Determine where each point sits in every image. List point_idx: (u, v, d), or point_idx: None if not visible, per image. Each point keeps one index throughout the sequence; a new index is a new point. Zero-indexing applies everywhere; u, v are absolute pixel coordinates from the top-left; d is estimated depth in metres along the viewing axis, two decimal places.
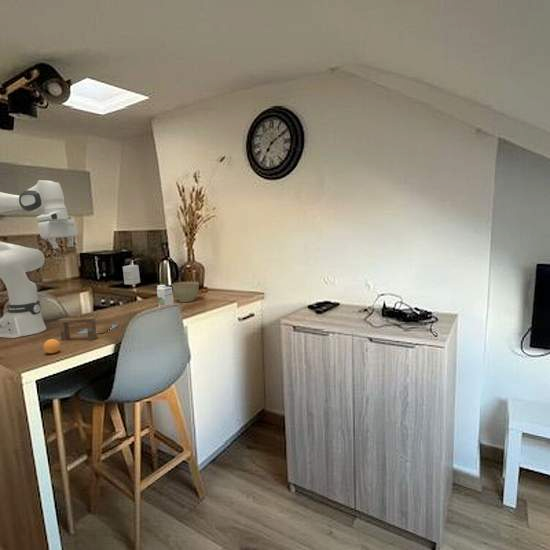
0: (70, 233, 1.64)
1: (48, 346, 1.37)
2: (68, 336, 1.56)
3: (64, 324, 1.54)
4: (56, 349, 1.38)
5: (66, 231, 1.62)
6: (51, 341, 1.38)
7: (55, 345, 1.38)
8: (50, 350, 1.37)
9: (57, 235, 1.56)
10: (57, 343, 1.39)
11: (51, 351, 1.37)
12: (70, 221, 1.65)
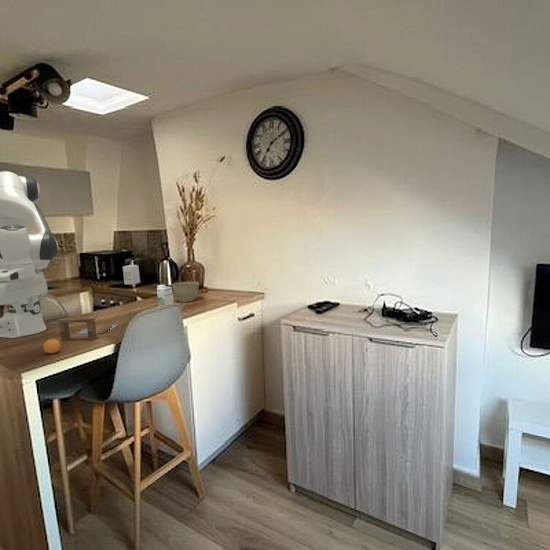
0: (35, 293, 1.29)
1: (48, 346, 1.37)
2: (68, 336, 1.56)
3: (64, 324, 1.54)
4: (56, 349, 1.38)
5: (30, 291, 1.27)
6: (51, 341, 1.38)
7: (55, 345, 1.38)
8: (50, 350, 1.37)
9: (17, 298, 1.22)
10: (57, 343, 1.39)
11: (51, 351, 1.37)
12: (38, 276, 1.31)
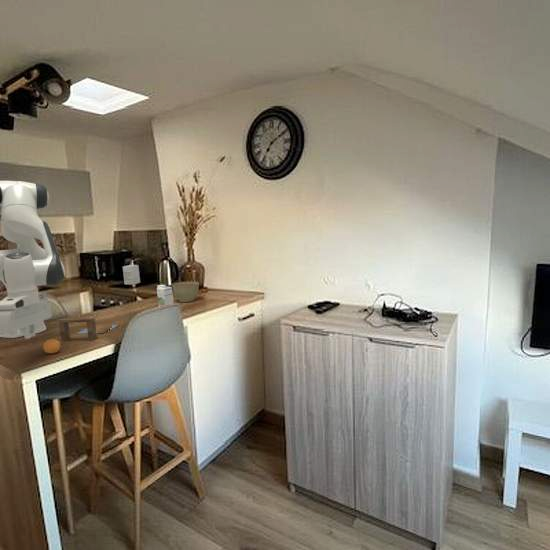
0: (40, 318, 1.31)
1: (48, 346, 1.37)
2: (68, 336, 1.56)
3: (64, 324, 1.54)
4: (56, 349, 1.38)
5: (35, 317, 1.29)
6: (51, 341, 1.38)
7: (55, 345, 1.38)
8: (50, 350, 1.37)
9: (23, 325, 1.23)
10: (57, 343, 1.39)
11: (51, 351, 1.37)
12: (42, 302, 1.32)
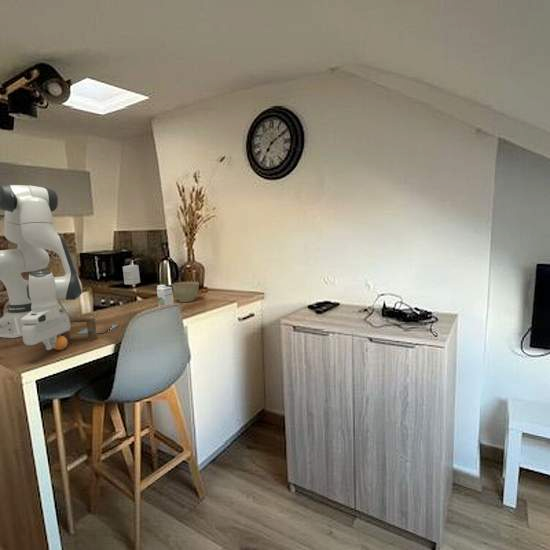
0: (60, 331, 1.42)
1: (58, 338, 1.41)
2: (68, 336, 1.56)
3: None
4: (63, 344, 1.42)
5: (55, 330, 1.39)
6: (63, 336, 1.43)
7: (65, 340, 1.43)
8: (58, 341, 1.41)
9: (44, 338, 1.34)
10: (66, 340, 1.43)
11: (58, 343, 1.40)
12: (62, 315, 1.43)
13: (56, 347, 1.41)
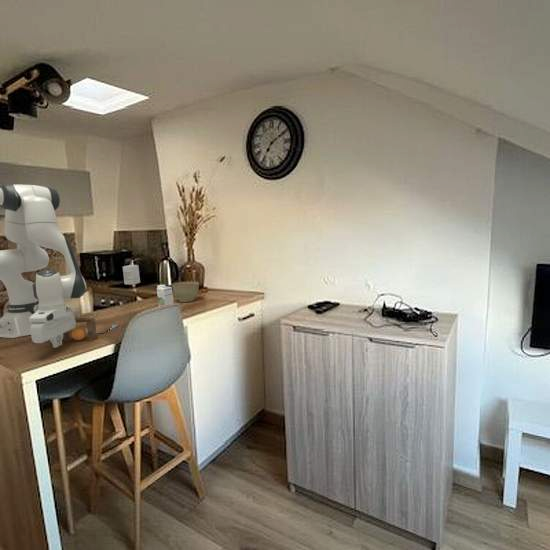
0: (66, 329, 1.45)
1: (80, 339, 1.54)
2: (68, 336, 1.56)
3: None
4: None
5: (62, 328, 1.43)
6: (78, 337, 1.52)
7: (83, 336, 1.53)
8: (83, 338, 1.55)
9: (52, 336, 1.37)
10: (82, 333, 1.53)
11: None
12: (68, 314, 1.46)
13: None
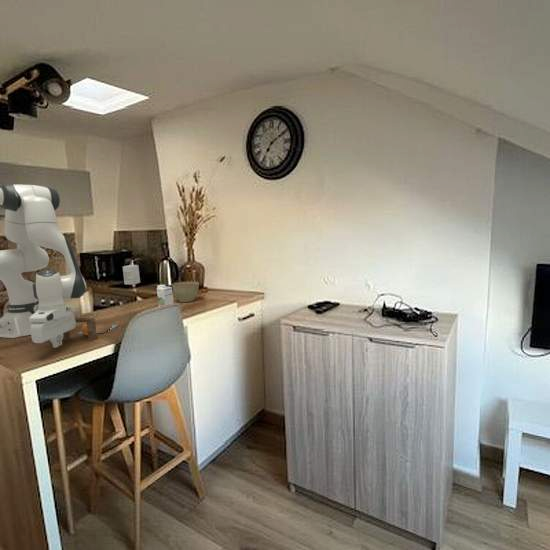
0: (66, 329, 1.45)
1: None
2: (68, 336, 1.56)
3: None
4: None
5: (62, 328, 1.43)
6: None
7: None
8: None
9: (52, 336, 1.37)
10: None
11: None
12: (68, 314, 1.46)
13: (86, 333, 1.58)
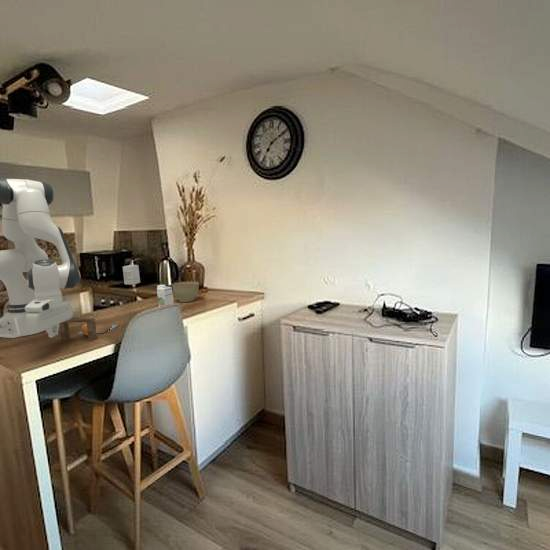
0: (62, 319, 1.44)
1: None
2: (68, 336, 1.56)
3: (64, 324, 1.54)
4: None
5: (58, 318, 1.42)
6: None
7: None
8: None
9: (47, 326, 1.36)
10: None
11: None
12: (64, 304, 1.45)
13: (86, 333, 1.58)
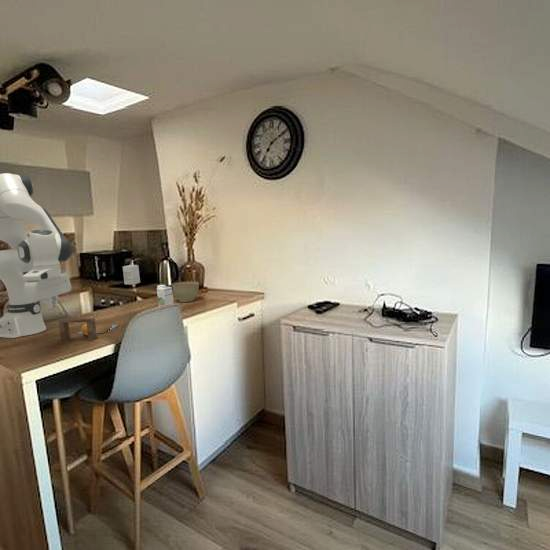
0: (61, 291, 1.43)
1: None
2: (68, 336, 1.56)
3: (64, 324, 1.54)
4: None
5: (57, 289, 1.40)
6: None
7: None
8: None
9: (46, 296, 1.35)
10: None
11: None
12: (63, 276, 1.44)
13: (86, 333, 1.58)
